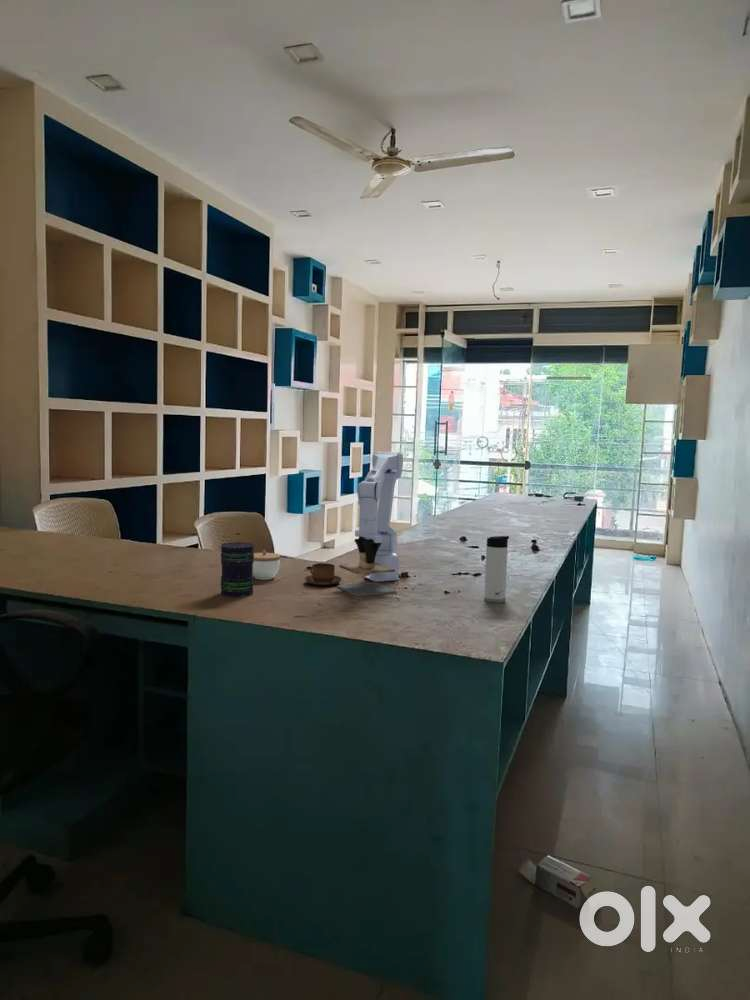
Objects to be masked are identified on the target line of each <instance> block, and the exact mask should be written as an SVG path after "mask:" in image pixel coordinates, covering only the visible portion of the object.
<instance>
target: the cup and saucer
mask: <svg viewBox="0 0 750 1000" xmlns="http://www.w3.org/2000/svg"><path fill="white" fill-rule="evenodd" d="M335 567H336V566H335V564H334V563H333V564H332V563H327V562H326V563H322V562H321V563H314V564H312V566H310V568H309V573H310V574H311V575H308V576H307V575H306V576H305V577H304V581H306V582H307V583H308V584H311V585H315V586H332V585H336V584H338V583H340V582H341V581H342V578H343V577H341V576H338V575H335V570H336V569H335Z"/></svg>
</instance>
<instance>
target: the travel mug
mask: <svg viewBox="0 0 750 1000" xmlns="http://www.w3.org/2000/svg"><path fill="white" fill-rule="evenodd" d="M509 539H510V536H509V535H499V536H498V535H497V536H490V537H487V539H486V550H485V551H486V552H485V554H486V555H485V570H484V571H485V573H484V574H485V576H484V597H483V598H484V601H485V602H487V603H493V604H494V603H495V604H499V603H500V604H501V603H504V602H506V593H507V592H506V591H507V590H506V588H507V572H508V571H507V568H508V566H507V565H508V548H509V547H508V542H509Z"/></svg>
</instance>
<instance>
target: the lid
mask: <svg viewBox="0 0 750 1000" xmlns="http://www.w3.org/2000/svg"><path fill="white" fill-rule="evenodd" d="M339 568H340V569H343V570H345V571H349V572H351V573H353V574H356V575H367V574H369V575H370V574H371V573H386V572H395V569H393V568H390V567H387V566H384V565H381V564H378V563H376V562H375V560H374V563H371V564H368V563H367V561H366V552H361V553H360V554H359V563H358V562H357V563H345V564H339Z"/></svg>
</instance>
